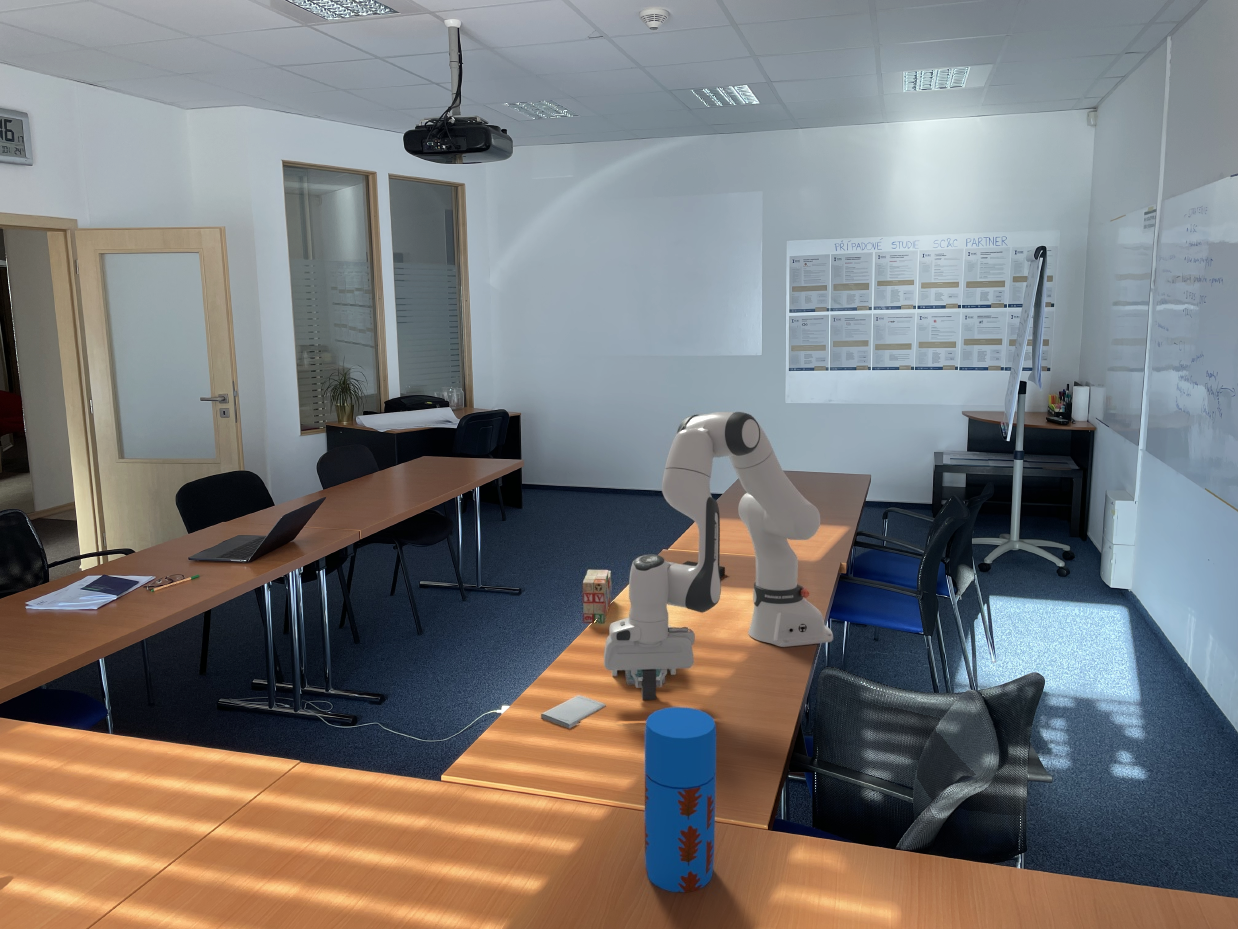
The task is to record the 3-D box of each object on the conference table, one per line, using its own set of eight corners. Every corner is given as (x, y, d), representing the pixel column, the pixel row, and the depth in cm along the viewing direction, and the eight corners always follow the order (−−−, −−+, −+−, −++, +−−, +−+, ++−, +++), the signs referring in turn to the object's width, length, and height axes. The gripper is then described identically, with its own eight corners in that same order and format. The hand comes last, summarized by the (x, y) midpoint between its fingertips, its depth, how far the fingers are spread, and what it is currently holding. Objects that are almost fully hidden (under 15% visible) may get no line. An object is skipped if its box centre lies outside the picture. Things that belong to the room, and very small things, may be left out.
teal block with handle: (659, 663, 219) (659, 637, 218) (669, 699, 199) (669, 670, 198) (623, 664, 219) (623, 638, 217) (629, 700, 199) (629, 671, 197)
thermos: (641, 852, 144) (641, 707, 139) (706, 848, 144) (708, 705, 140) (649, 895, 133) (649, 740, 129) (719, 891, 134) (722, 737, 130)
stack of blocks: (591, 599, 271) (591, 560, 269) (611, 599, 270) (611, 561, 268) (582, 623, 250) (582, 581, 248) (604, 624, 249) (604, 582, 247)
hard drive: (569, 724, 186) (606, 703, 196) (540, 713, 191) (577, 693, 201) (569, 731, 186) (606, 710, 196) (540, 720, 191) (577, 700, 201)
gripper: (692, 622, 201) (692, 679, 203) (603, 624, 200) (603, 681, 202) (696, 632, 195) (696, 690, 197) (604, 634, 194) (604, 693, 196)
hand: (648, 686), depth 200 cm, fingers open, 3 cm apart
